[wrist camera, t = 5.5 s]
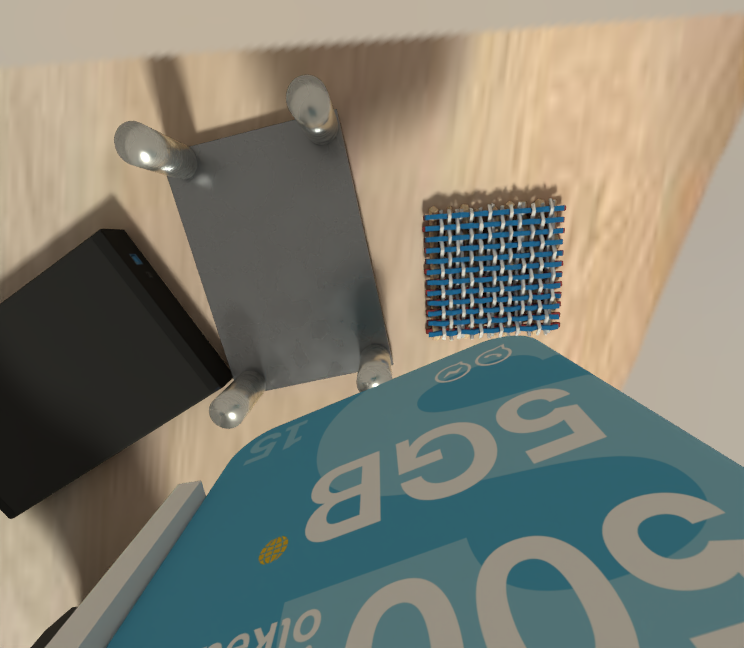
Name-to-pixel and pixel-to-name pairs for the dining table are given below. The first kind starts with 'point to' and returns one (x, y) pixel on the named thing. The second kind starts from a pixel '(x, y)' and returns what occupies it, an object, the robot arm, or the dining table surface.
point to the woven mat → (493, 270)
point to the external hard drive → (92, 366)
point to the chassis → (276, 249)
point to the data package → (462, 523)
